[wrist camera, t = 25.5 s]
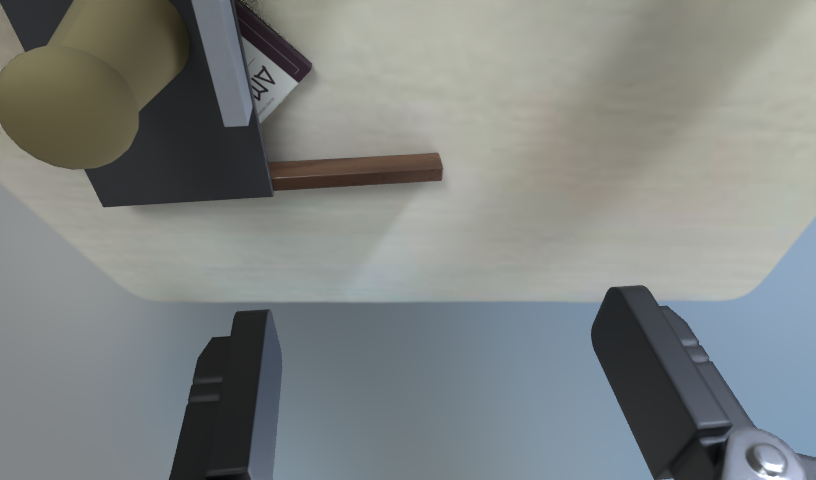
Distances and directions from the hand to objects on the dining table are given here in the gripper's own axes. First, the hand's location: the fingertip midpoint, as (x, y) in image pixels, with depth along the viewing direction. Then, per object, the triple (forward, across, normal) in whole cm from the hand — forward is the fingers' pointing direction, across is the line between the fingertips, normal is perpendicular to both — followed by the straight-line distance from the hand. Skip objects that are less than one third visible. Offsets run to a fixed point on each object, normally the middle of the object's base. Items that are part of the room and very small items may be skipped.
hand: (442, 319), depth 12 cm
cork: (+23, +14, +1) cm, 27 cm away
